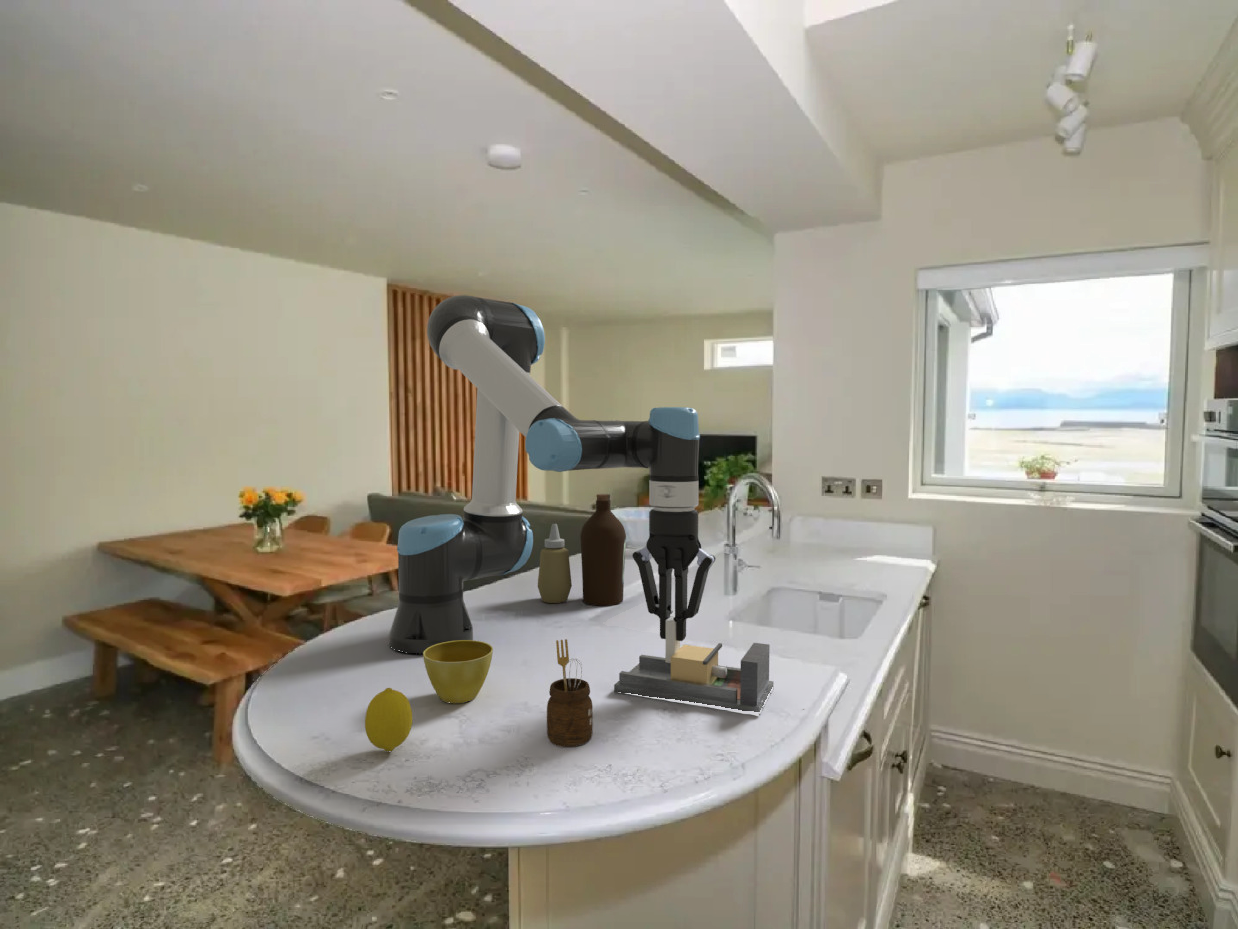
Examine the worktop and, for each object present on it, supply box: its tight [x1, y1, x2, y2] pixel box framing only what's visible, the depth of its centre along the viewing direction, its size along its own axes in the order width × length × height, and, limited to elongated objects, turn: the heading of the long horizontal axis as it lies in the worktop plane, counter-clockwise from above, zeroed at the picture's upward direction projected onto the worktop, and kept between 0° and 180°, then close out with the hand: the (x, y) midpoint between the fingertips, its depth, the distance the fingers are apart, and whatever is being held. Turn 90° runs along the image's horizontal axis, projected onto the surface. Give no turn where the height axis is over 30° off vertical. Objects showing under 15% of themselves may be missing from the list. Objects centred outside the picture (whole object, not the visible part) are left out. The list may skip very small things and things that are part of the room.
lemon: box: [364, 687, 413, 752], centre depth 84 cm, size 6×6×8 cm
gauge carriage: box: [671, 642, 727, 685], centre depth 104 cm, size 8×9×5 cm
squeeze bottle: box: [537, 523, 573, 604], centre depth 159 cm, size 8×8×18 cm
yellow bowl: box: [422, 639, 494, 704], centre depth 101 cm, size 10×10×7 cm
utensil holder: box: [546, 638, 594, 748], centre depth 88 cm, size 6×6×12 cm
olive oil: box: [579, 493, 627, 607], centre depth 159 cm, size 11×11×25 cm
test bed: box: [613, 642, 774, 712], centre depth 104 cm, size 22×11×7 cm, turn 67°
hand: (672, 660), depth 105 cm, fingers closed
